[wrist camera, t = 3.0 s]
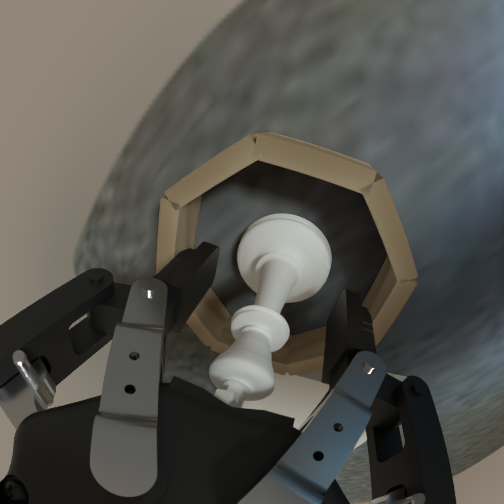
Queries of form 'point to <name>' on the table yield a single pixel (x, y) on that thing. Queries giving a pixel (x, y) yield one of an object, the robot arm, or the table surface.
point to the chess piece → (268, 301)
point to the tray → (298, 397)
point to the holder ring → (314, 164)
